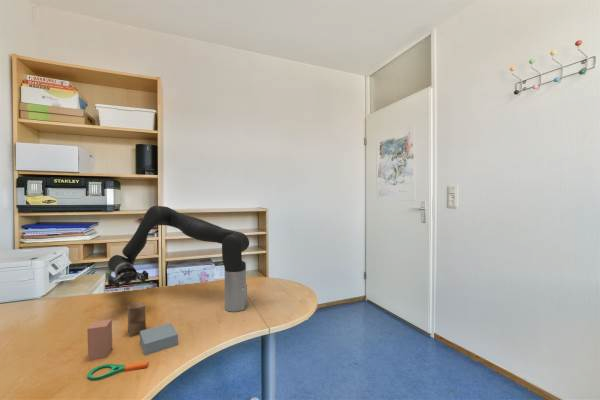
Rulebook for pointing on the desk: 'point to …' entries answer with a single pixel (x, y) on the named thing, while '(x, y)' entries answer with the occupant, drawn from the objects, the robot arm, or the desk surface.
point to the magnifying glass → (115, 369)
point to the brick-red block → (99, 339)
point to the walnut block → (136, 318)
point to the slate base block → (158, 338)
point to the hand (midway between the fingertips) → (130, 282)
